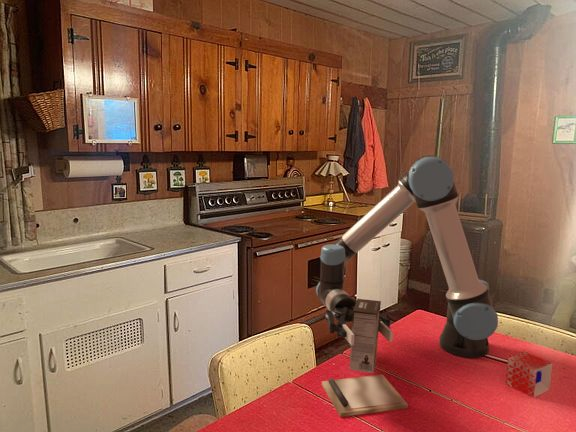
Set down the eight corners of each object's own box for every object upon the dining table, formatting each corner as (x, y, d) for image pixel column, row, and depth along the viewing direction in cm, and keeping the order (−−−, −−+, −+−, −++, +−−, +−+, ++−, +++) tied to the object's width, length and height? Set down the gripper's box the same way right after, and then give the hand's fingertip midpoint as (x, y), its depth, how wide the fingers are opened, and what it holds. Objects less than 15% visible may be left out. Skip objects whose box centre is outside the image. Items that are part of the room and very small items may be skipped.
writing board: (382, 377, 129) (382, 368, 129) (407, 408, 115) (408, 397, 115) (321, 384, 125) (322, 375, 125) (340, 417, 111) (340, 406, 110)
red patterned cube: (521, 376, 131) (524, 351, 130) (549, 389, 125) (552, 362, 124) (505, 384, 127) (508, 358, 126) (533, 398, 121) (536, 370, 119)
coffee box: (352, 353, 124) (356, 297, 121) (376, 357, 122) (381, 300, 120) (348, 370, 115) (352, 310, 112) (374, 374, 114) (379, 313, 111)
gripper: (376, 315, 138) (412, 348, 116) (305, 320, 133) (329, 356, 111) (377, 291, 136) (414, 320, 115) (305, 295, 131) (330, 327, 110)
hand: (372, 338), depth 113 cm, fingers closed on coffee box, 9 cm apart
